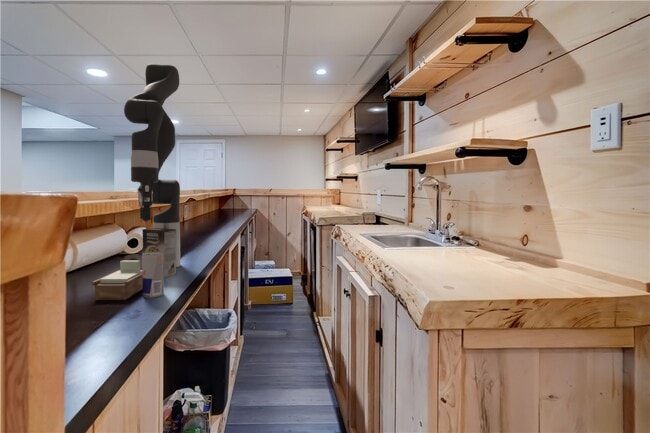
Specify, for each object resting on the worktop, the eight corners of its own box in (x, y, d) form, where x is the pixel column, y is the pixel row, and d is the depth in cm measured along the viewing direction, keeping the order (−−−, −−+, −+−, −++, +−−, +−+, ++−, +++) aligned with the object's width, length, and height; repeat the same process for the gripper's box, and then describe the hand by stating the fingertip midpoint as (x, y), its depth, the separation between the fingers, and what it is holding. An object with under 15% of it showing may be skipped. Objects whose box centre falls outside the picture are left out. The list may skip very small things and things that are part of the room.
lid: (120, 274, 110) (119, 260, 109) (144, 273, 110) (143, 260, 110) (100, 283, 99) (99, 268, 98) (127, 283, 99) (126, 268, 99)
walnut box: (118, 286, 111) (117, 270, 110) (149, 286, 111) (149, 270, 111) (92, 300, 97) (91, 282, 96) (128, 299, 98) (127, 281, 97)
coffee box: (142, 275, 124) (141, 229, 123) (156, 271, 131) (155, 227, 129) (164, 277, 122) (163, 230, 121) (177, 273, 128) (176, 228, 127)
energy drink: (144, 293, 103) (143, 252, 103) (164, 291, 105) (163, 251, 105) (141, 298, 98) (140, 255, 98) (163, 297, 100) (162, 254, 100)
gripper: (161, 165, 106) (161, 220, 107) (155, 168, 118) (156, 218, 119) (132, 164, 102) (132, 221, 103) (129, 167, 115) (130, 218, 115)
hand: (145, 219), depth 111 cm, fingers open, 8 cm apart
